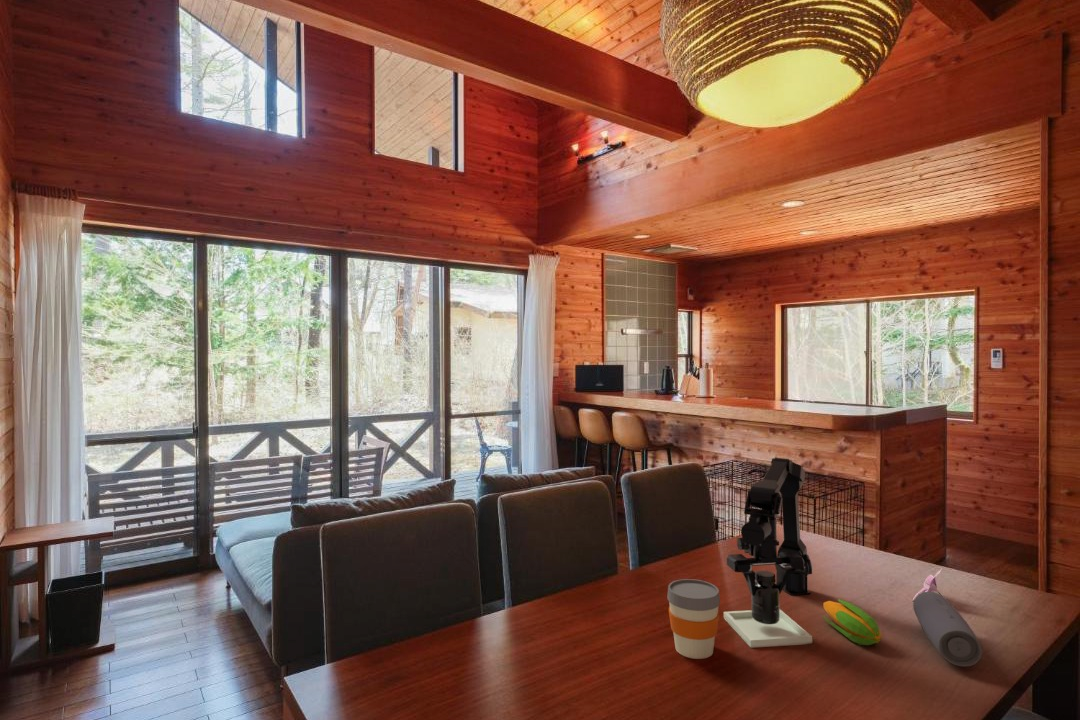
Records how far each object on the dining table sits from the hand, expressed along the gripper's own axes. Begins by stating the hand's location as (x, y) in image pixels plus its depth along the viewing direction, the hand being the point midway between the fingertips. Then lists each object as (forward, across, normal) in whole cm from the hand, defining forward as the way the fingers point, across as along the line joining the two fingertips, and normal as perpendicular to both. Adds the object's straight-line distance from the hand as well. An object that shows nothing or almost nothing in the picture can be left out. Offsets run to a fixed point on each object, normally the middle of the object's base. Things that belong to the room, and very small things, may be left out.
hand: (765, 594), depth 151 cm
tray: (+10, 0, 0) cm, 10 cm away
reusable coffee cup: (+10, +22, +7) cm, 25 cm away
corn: (+10, -20, +4) cm, 23 cm away
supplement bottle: (+7, 0, 0) cm, 7 cm away
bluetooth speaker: (+10, -39, +14) cm, 42 cm away
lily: (+10, -56, -12) cm, 58 cm away
